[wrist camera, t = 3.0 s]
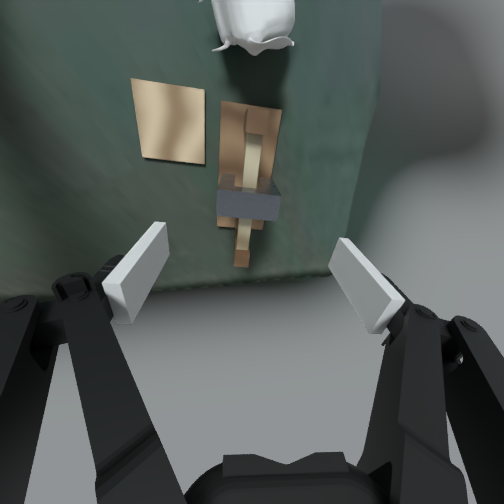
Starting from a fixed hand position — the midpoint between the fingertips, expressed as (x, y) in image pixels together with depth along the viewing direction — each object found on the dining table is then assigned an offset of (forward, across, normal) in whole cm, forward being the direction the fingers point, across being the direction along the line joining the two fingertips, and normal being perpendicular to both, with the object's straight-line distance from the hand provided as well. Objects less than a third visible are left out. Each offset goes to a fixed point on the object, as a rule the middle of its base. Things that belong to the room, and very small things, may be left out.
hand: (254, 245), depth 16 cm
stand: (+25, 0, 0) cm, 25 cm away
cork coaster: (+24, -12, +6) cm, 28 cm away
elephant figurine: (+25, -1, +19) cm, 31 cm away
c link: (+16, 0, 0) cm, 16 cm away
